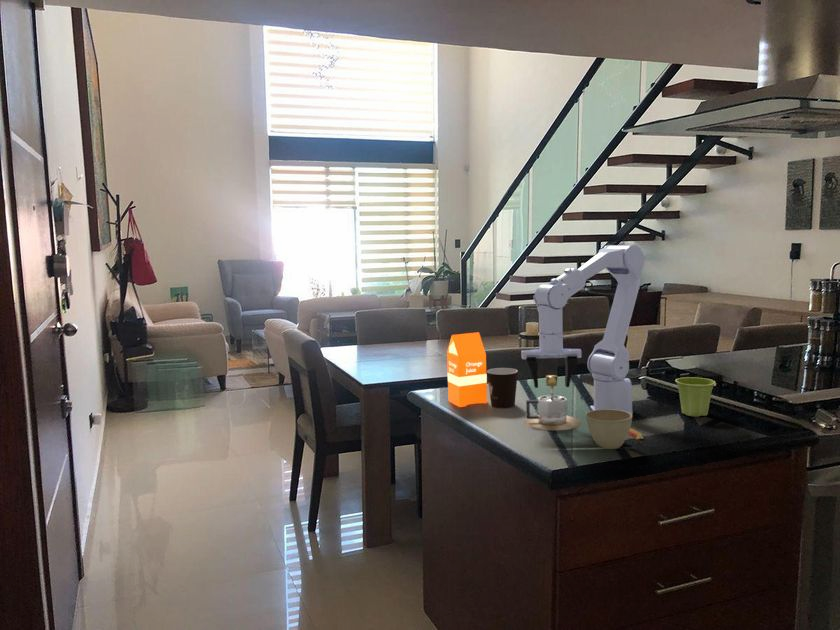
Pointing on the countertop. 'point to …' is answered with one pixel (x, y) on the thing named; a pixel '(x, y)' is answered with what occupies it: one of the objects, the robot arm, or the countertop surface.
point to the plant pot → (695, 395)
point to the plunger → (551, 388)
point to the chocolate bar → (635, 434)
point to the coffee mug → (502, 387)
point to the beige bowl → (609, 427)
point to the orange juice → (466, 370)
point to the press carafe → (549, 411)
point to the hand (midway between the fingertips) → (551, 386)
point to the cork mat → (570, 424)
